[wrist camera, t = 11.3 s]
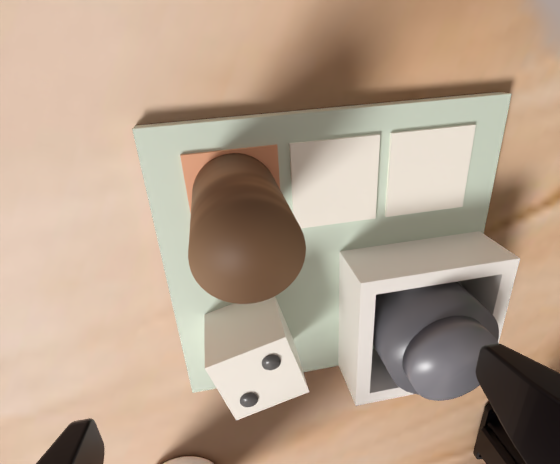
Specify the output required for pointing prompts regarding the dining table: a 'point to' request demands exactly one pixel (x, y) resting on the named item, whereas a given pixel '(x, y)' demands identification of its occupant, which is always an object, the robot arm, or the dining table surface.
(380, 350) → the popper button
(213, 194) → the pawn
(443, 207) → the board
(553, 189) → the dining table surface
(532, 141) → the dining table surface
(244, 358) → the die
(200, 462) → the white tapered vase
